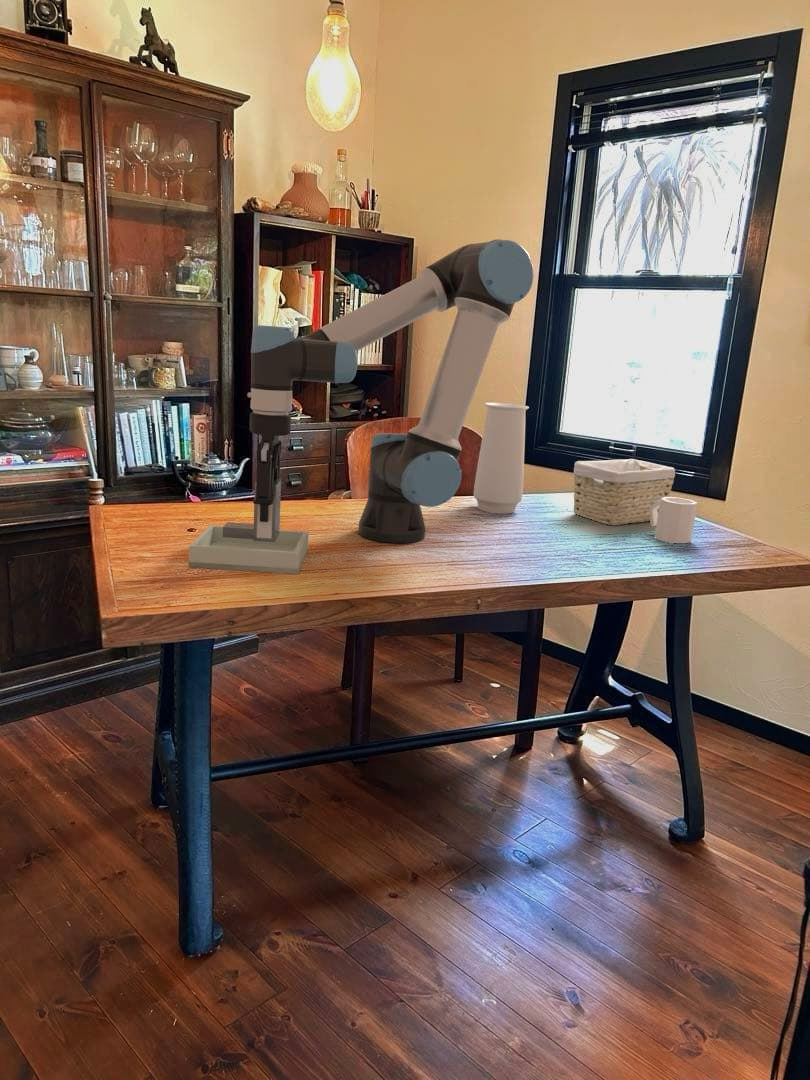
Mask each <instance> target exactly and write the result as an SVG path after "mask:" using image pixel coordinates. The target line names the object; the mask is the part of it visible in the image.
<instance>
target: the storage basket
mask: <svg viewBox="0 0 810 1080" xmlns="http://www.w3.org/2000/svg"><path fill="white" fill-rule="evenodd" d="M573 465H574V466H573V478H574V481H573V483H574V485H573V487H574V489H573V491H574V494H573V514H574V515H576V514H577V515H576V516H578V515H580V516H579V517H582V516H583V517H582V518H584V517H586V518H585V519H588V518H589V520H590V519H592V520H591V521H594V520H595V521H594V522H596V521H598V522H597V523H600V522H601V523H600V524H602V523H604V525H606V524H608V525H609V526H616V525H617V526H622V525H629V524H628V523H632V524H636V523H645V521H646V522H650V510H649V508H650V507H651V506H652V505H653V504H654V503H655V502H657V501H658V500H660V499H661V498H664V497H671V496H670V495H671V491H672V487H673V485H674V481H675V480H674V479H675V477H676V470H675V468H674V467H672V466H667V465H662V464H657V463H653V462H650V461H644V460H639V459H635V458H629V459H608V460H607V459H606V460H577V461H575V462H574V464H573ZM657 512H659V508H658V509H657ZM608 525H607V526H608Z"/></svg>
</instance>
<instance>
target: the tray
mask: <svg viewBox="0 0 810 1080" xmlns="http://www.w3.org/2000/svg"><path fill="white" fill-rule="evenodd" d="M223 526H224V525H220V524H219V525H218V524H209V525H208V526H207V527H206V528H205V529H204V530H203V531H202V532H201V533H200V534H199V535H198V536H197V537H196V538H195V539H194V540H193V541H192V542H191V543H190V544H189V546H188V567H189V568H198V569H199V568H201V569H202V568H203V569H215V570H230V571H242V572H243V571H245V572H259V573H260V572H261V573H274V574H275V573H277V574H292V575H293V574H294V575H298V574H299V572H300V569H301V567H302V565H303V563H304V561H305V558H306V556H307V553H308V551H309V531H307V530H294V529H291V530H290V529H280V531H279V536H278V537H277V539H276V541H275V542H263V541H253V539H241V538H226V537H223Z"/></svg>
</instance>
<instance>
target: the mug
mask: <svg viewBox="0 0 810 1080" xmlns="http://www.w3.org/2000/svg"><path fill="white" fill-rule="evenodd" d="M697 507H698V502H697V501H694V500H692V499H687V498H684V497H677V496H674V497H673V496H670V497H664V498H661V499H660V500H658V501H657V502H655V503H654V504H653V505H652V506H651V507H650V508H649V510H650V521H649V522H650V526H652V527H655V532H654V536H653V537H656V538H657V539H656V538H655V539H656V540H658V539H659V540H658V541H660V540H661V541H660V542H662V541H665V542H664V543H667V542H670V543H669V544H673V543H688V542H690V541H691V542H692V539H693V538H692V537H693V531H694V524H695V520H696V513H697V509H698V508H697ZM658 508H659V512H657V509H658ZM691 542H690V543H691ZM688 544H689V543H688Z"/></svg>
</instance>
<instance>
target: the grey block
mask: <svg viewBox="0 0 810 1080" xmlns="http://www.w3.org/2000/svg"><path fill="white" fill-rule="evenodd" d="M281 490H282V479H281V478H280V479H273V489H272V503H271V504H273V514H272V538H271V539H269V538H257V508H258V504H253V508H254V509H253V523H247V522H245V523H243V522H229V521H227V522H226V523H225V524H224V525H222V526H223V537H226V538H241V539H253V541H263V542H275V541H276V539H277V537H278V536H279V531H280V530H281V529H280V524H281V497H282V496H281ZM261 497H263V496H261ZM253 498H254V499H253V500H255V499H256V482H255V483H254V497H253Z"/></svg>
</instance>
